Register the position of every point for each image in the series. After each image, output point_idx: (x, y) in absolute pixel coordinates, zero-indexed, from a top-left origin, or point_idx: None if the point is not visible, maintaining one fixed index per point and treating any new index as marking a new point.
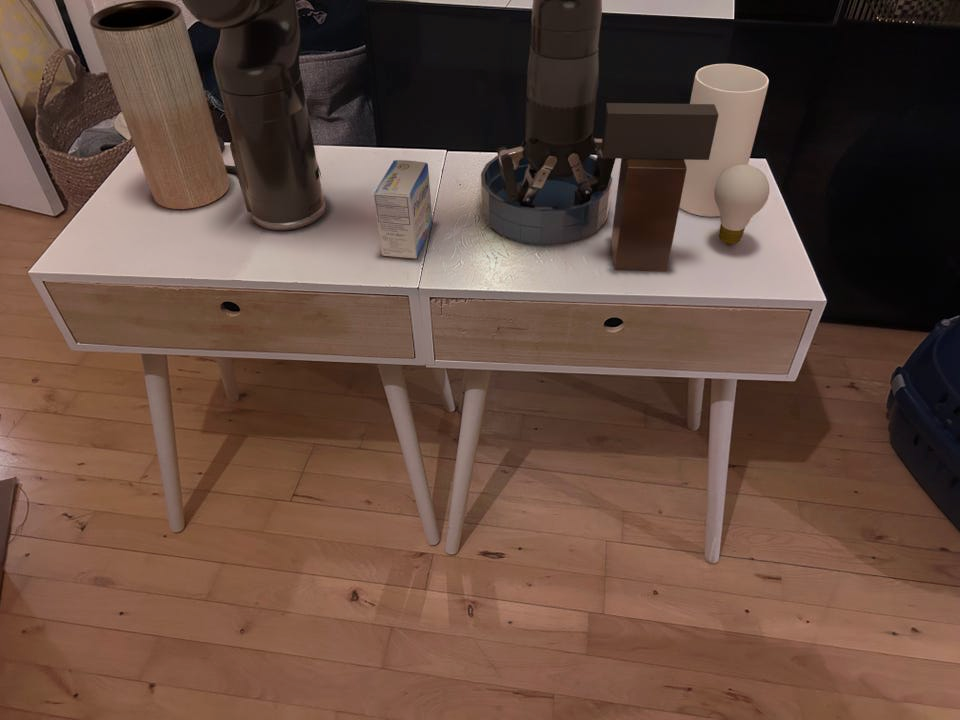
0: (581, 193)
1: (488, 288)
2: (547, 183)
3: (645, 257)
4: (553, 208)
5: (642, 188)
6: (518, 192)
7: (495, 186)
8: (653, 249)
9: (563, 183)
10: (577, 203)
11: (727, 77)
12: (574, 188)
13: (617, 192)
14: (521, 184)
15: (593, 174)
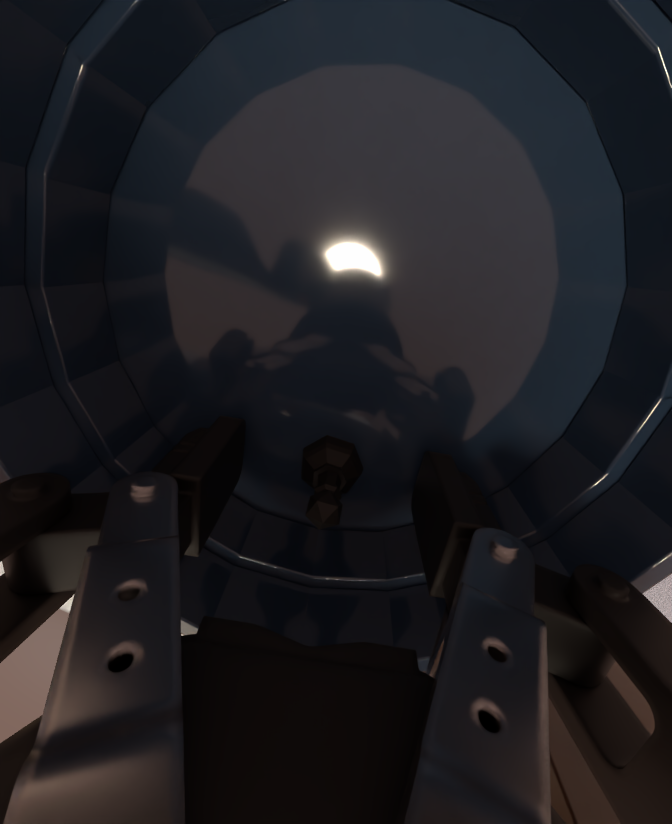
0: (447, 601)
1: (65, 606)
2: (488, 84)
3: None
4: (312, 520)
5: None
6: (67, 590)
7: (142, 66)
8: None
9: (568, 126)
10: (431, 531)
11: None
12: (585, 210)
13: (557, 812)
14: (105, 517)
15: (594, 622)
